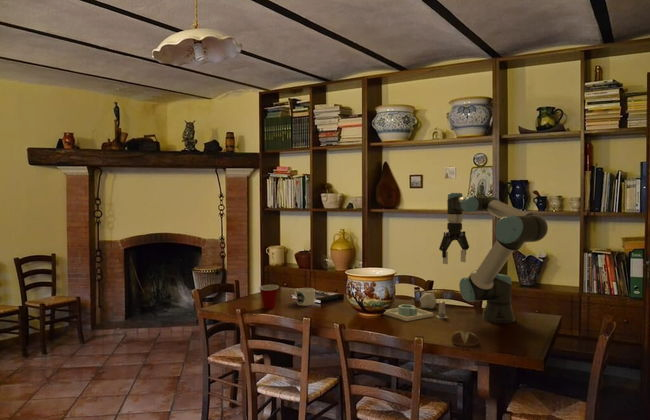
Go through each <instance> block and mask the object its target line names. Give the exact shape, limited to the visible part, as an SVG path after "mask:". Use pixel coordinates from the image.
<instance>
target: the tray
mask: <svg viewBox="0 0 650 420" xmlns="http://www.w3.org/2000/svg"><path fill="white" fill-rule="evenodd" d="M416 308H417V315H415V316H402V315H399V314H398V307H396V308H395V307H394V308H389V309H385V310H386V311H385V312H384V313H383V315H385V316H388V317H392V318H395V319H396V318H397V319H398V320H401V321H404V322H406V321H407V322H408V321H409V322H411V321H415V320H419V319H421V320H422V319H425V318H431V317H434V312H432V311H428V310H425V309H421V308H418V307H416Z"/></svg>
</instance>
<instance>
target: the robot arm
mask: <svg viewBox="0 0 650 420" xmlns="http://www.w3.org/2000/svg"><path fill="white" fill-rule="evenodd" d="M446 203H447V226H446V229H447V230H448V231H444V232H443V236H442V239H441V242H440V245H439V247H438V248H439V249H438V250H439V251H440V252H441V257H442V264H443V265H449V264H448V263H449V261H448V260H449V257H448V256H449V251H448V249H449V248H450V246H451V244H452V243H453V241H457V242H458V245H459V246H460V248H461V249H460V262H461V263H466V262H467V260H466V256H467V251H468V250H469V248H470V245H469V242H468V239H467V236H466V231H464V230H463V223H462V222H463V212H465V213H475V212H476V213H477V212H482V213H483V212H484V213H487V214H490V215H493V216H494V217H496V218H498V219H499V220H498V221H497V223H496V224H495V230H494V233H495V234H494V235H495V239H496V240H495V242H494V243H493V245H492V247H491V248H490V250H489V251H488V252H487V254H486V256H485V258H484V259H483V261H482V262H481V263H480V265H479V266H478V268H477V269H475V270H473V271H471V273H470V274H469V276H467V277H465V276H464V277H462V278H461V279H460V281H459V284H458V285H459V292H460V295H461V297H462V299H463V300H464V301H466V302H470V303H471V302H472V303H473V302H484V301H486V304H485V307H484V310H483V313H482V320H483V321H486V322H489V323H493V324H501V325H503V324H506V325H507V324H513V323H515V321H516V320H515V319H516V318H515V314H514V310H513V307H512V285H513V284H512V277H511V276H509V275H506V274H504V273H503V274H502V273H499V272H501V270H502V268H503V267H504V266H505V264H506V263H507V261H508V259H509V258H510V257H511V256H512V254H513V253H514V252H517V251H518V250H520V249H521V248H522V247H523V246H524V243H532V242H533V243H535V242H539V241H541V240H542V239H544V238H545V237H546V235H547V233H548V231H549V229H548V228H549V227H548V223H547V221H546V219H545V218H544V217H542V216H540V215H538V214H536V213H533V212H525V211H523V210H521V209H518V208H516V207H513V206H512V205H508V204H507V203H504V202H502V201H501V200H500V198H498V197H497V196H463V193H462V192H450V193H448V194H447V202H446Z"/></svg>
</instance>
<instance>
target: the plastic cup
mask: <svg viewBox="0 0 650 420" xmlns="http://www.w3.org/2000/svg"><path fill="white" fill-rule="evenodd" d="M279 287H280V286H279V285H277V284H264V285H261V286H259V288H258V289H259V290H260V294H261V298H262V305H263V309H265V310H274V309H275V307H276V303H277V296H278V290H279Z"/></svg>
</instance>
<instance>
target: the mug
mask: <svg viewBox="0 0 650 420" xmlns="http://www.w3.org/2000/svg"><path fill="white" fill-rule="evenodd" d="M293 293H294V296H295V298H296V304H297V305H298V306H301V307H302V306H306V307H308V306H313V305H315V302H316V301H315V300H316V298H315V297H316V289H315V288H312V287H302V288H301V287H299V288H294V290H293Z"/></svg>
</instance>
